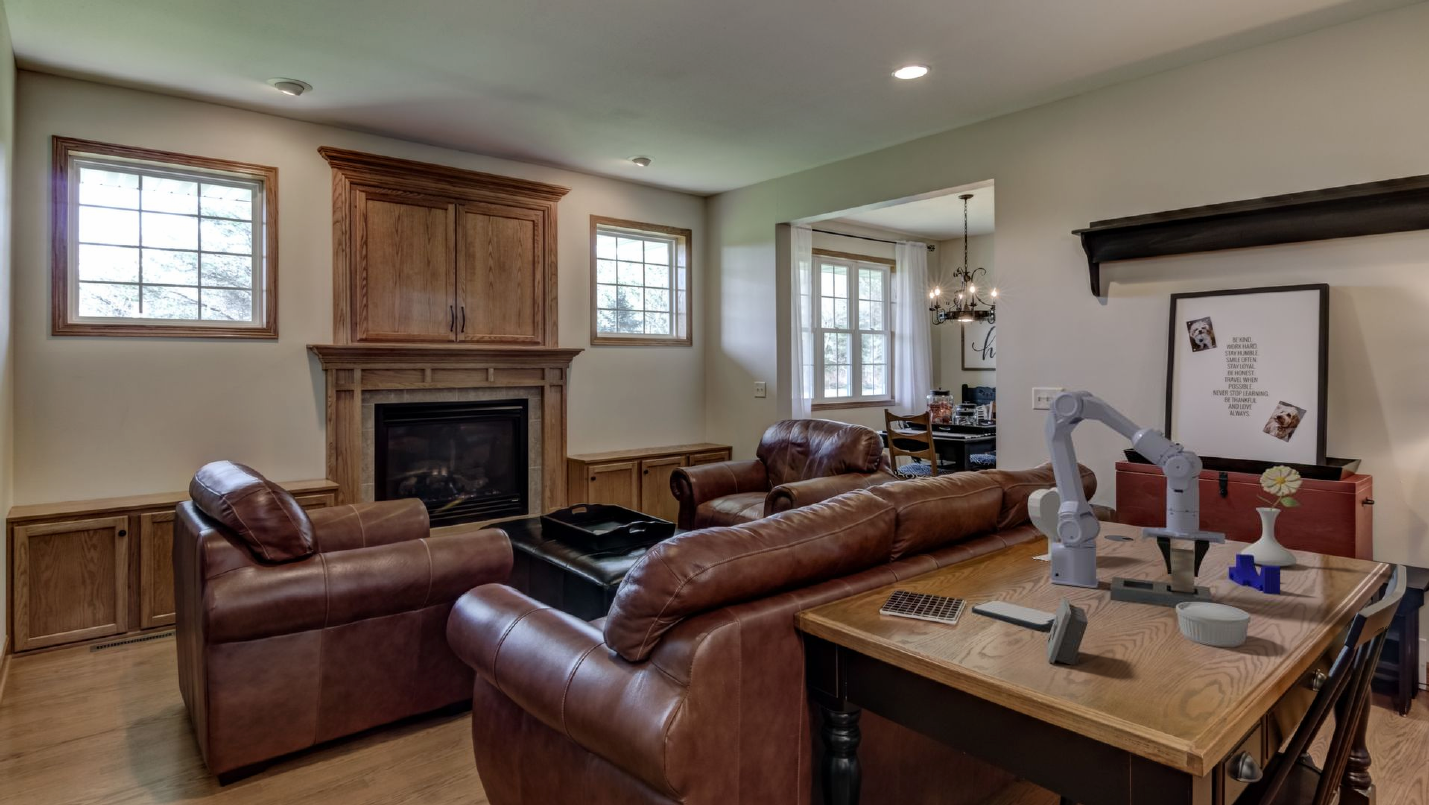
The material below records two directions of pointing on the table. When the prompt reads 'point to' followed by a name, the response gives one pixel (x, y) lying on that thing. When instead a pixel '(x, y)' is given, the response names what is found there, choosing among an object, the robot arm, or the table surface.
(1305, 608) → the table surface
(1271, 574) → the cable clip
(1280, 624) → the table surface
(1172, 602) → the grey slotted board
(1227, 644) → the ramekin
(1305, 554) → the table surface
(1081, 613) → the electrical switch
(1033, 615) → the phone case
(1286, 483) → the flower in vase
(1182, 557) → the peg
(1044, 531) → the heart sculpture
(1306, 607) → the table surface
